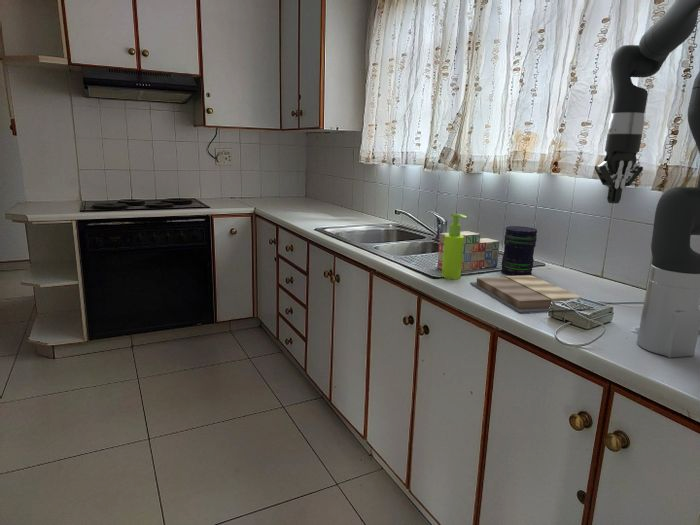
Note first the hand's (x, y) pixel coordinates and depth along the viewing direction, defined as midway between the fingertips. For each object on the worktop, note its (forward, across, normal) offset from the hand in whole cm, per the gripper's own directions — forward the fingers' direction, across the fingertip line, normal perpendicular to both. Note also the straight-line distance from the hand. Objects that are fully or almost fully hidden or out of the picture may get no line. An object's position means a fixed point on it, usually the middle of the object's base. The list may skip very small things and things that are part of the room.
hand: (613, 203), depth 120 cm
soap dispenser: (+27, -28, +30) cm, 49 cm away
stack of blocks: (+27, -17, +41) cm, 52 cm away
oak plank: (+26, -11, +9) cm, 30 cm away
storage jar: (+27, -4, +32) cm, 42 cm away
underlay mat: (+27, -15, +9) cm, 32 cm away
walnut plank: (+27, -20, +9) cm, 35 cm away
